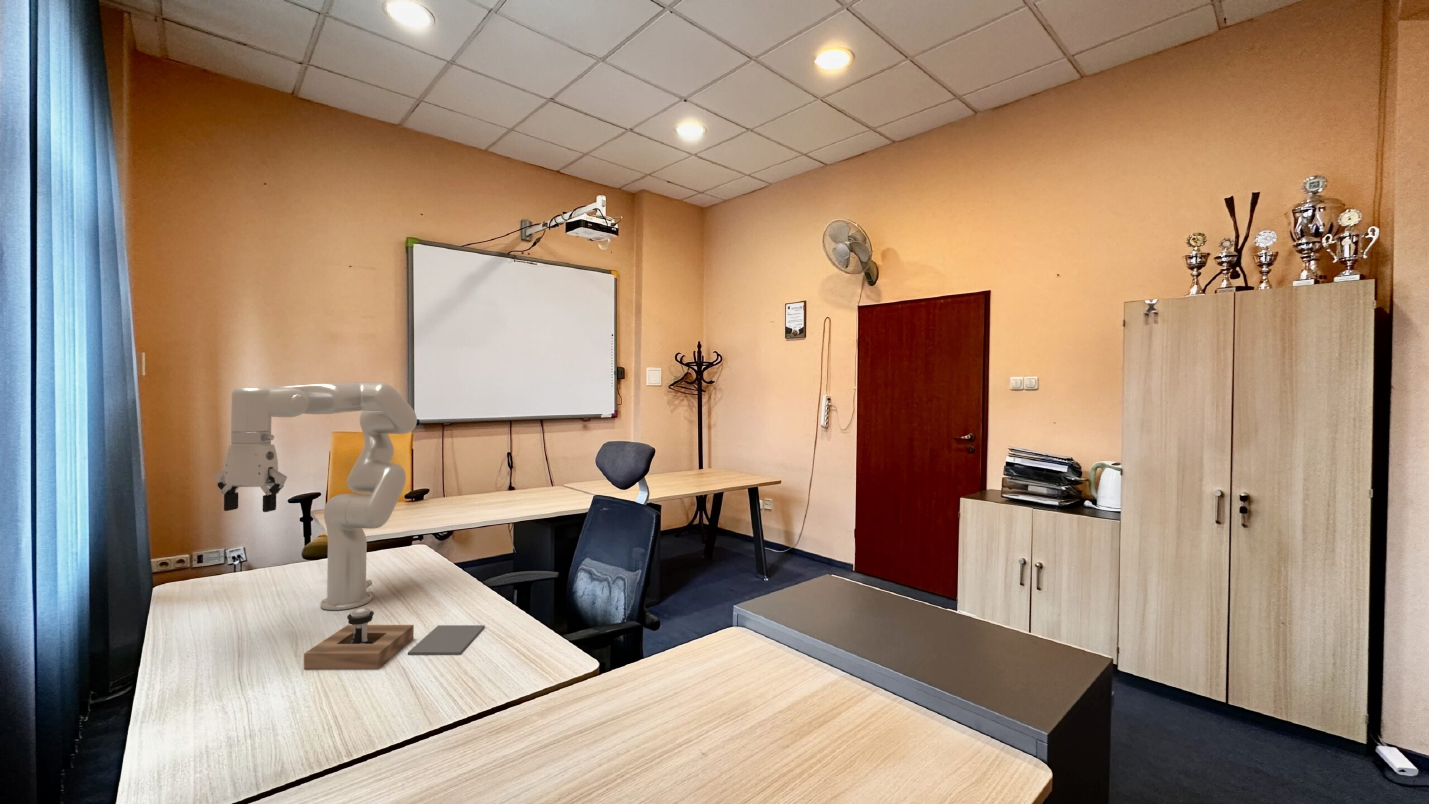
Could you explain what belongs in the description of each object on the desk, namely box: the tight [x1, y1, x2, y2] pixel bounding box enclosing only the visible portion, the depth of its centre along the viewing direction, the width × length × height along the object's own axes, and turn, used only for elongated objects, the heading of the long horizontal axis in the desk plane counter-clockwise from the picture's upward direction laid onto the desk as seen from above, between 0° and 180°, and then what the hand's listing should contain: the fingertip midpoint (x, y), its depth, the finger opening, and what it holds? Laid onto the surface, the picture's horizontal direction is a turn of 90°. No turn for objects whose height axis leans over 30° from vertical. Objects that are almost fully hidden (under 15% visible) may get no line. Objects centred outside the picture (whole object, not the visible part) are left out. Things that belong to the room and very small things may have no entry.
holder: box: [303, 624, 415, 670], centre depth 134 cm, size 16×16×4 cm
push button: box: [346, 606, 375, 644], centre depth 134 cm, size 7×5×10 cm
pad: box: [407, 624, 486, 656], centre depth 142 cm, size 16×12×1 cm
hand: (250, 510), depth 137 cm, fingers open, 9 cm apart
